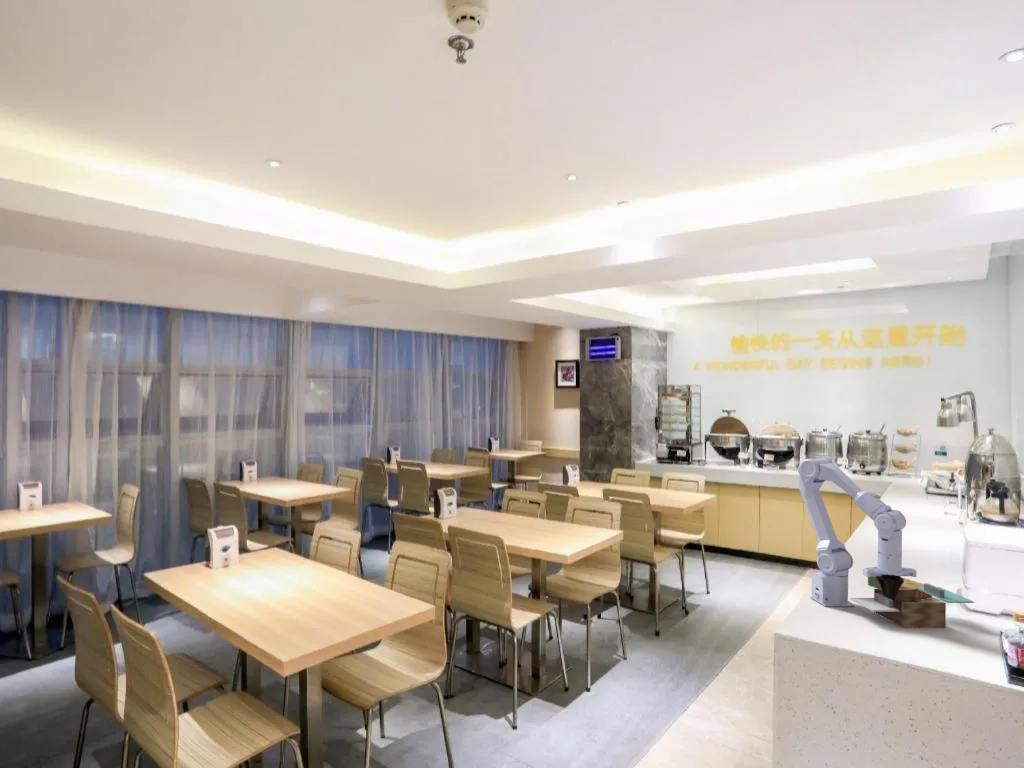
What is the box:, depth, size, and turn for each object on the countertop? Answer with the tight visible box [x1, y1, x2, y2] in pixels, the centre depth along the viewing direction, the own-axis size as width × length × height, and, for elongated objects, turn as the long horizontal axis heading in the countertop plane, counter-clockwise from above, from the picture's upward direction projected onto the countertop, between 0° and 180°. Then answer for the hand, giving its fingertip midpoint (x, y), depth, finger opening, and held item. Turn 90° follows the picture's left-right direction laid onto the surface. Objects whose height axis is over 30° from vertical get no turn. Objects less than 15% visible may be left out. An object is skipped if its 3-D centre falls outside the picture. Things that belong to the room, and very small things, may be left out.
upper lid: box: [916, 583, 975, 604], centre depth 167 cm, size 7×12×2 cm, turn 3°
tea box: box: [873, 588, 947, 629], centre depth 167 cm, size 12×12×7 cm
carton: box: [867, 576, 933, 601], centre depth 191 cm, size 8×16×4 cm, turn 19°
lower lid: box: [850, 593, 899, 613], centre depth 166 cm, size 7×10×2 cm
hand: (889, 601), depth 166 cm, fingers closed
